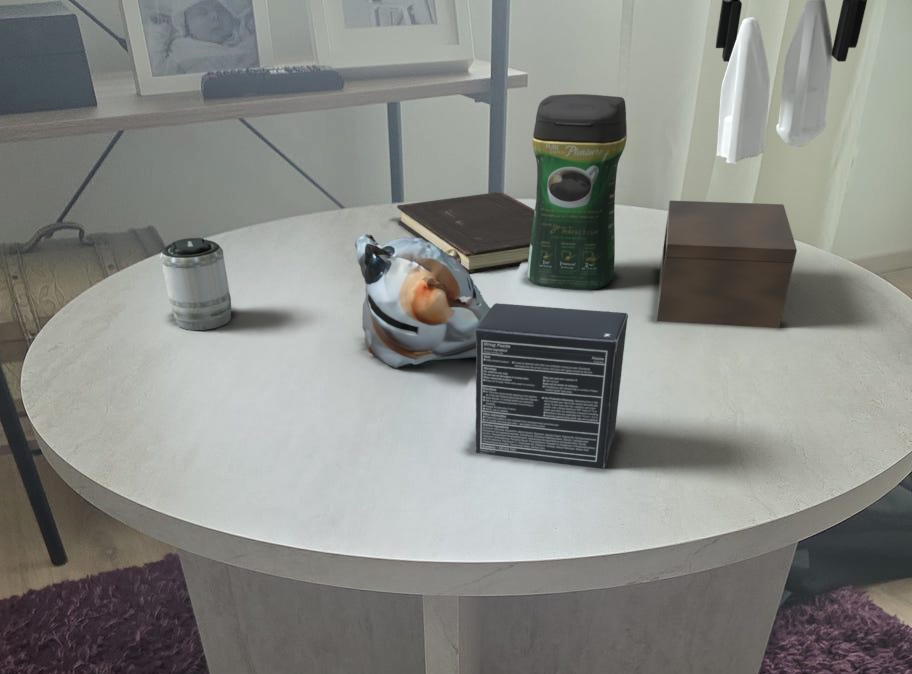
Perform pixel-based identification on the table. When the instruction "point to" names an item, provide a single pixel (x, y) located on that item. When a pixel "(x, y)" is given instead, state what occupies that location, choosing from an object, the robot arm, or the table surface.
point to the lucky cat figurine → (417, 302)
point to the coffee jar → (576, 190)
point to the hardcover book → (474, 228)
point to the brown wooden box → (725, 264)
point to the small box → (548, 383)
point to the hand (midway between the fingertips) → (782, 58)
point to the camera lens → (197, 283)
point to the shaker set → (800, 87)
